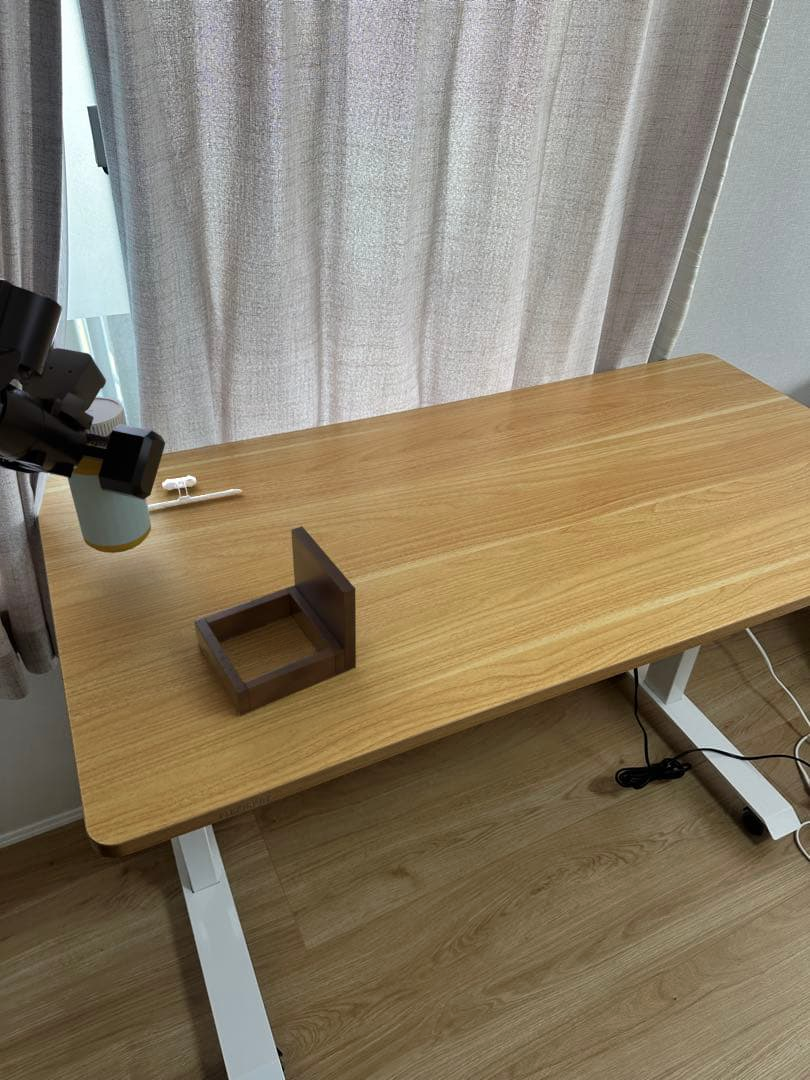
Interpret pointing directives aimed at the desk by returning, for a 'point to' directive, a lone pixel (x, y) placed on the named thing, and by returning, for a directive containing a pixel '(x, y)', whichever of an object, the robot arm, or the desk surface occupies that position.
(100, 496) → the bottle
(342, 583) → the tray
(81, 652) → the desk surface
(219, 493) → the picture light
